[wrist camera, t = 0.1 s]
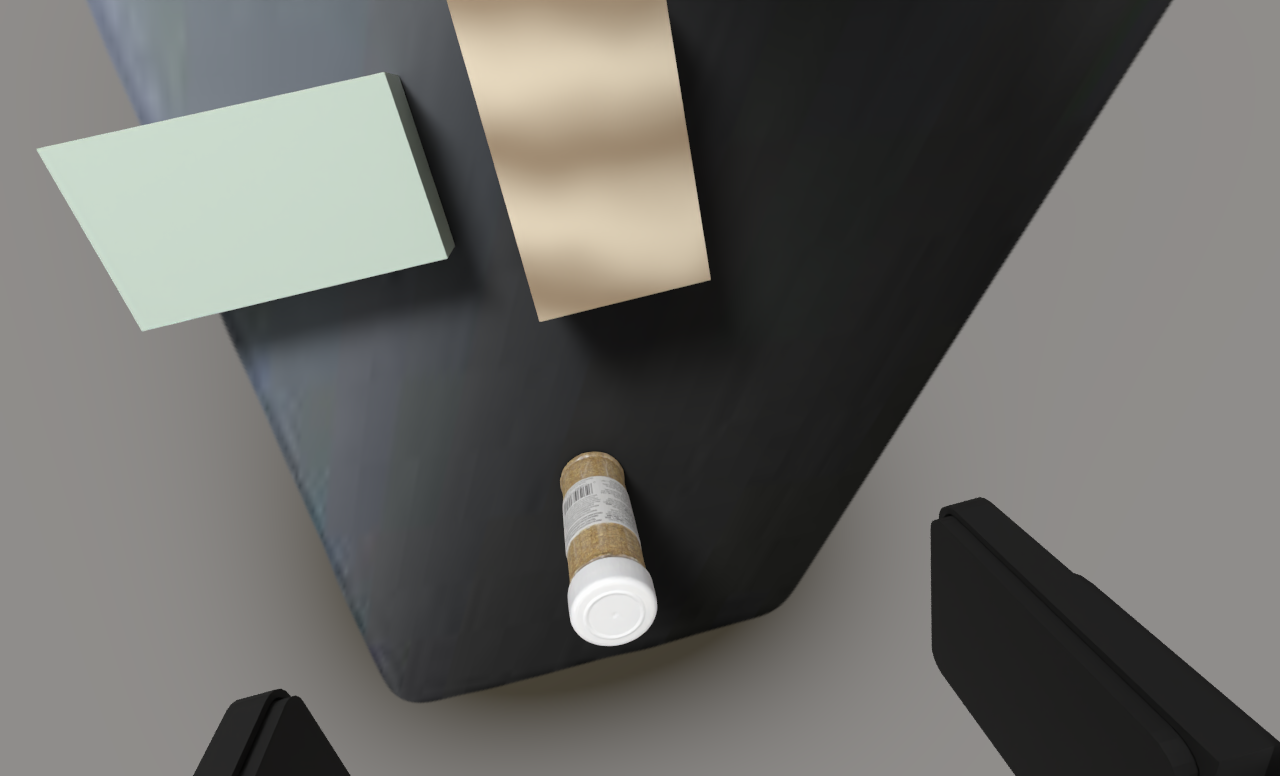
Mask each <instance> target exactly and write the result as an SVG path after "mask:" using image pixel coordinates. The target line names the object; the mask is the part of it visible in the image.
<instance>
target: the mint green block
mask: <svg viewBox="0 0 1280 776" xmlns="http://www.w3.org/2000/svg"><path fill="white" fill-rule="evenodd" d="M37 151H38V153H39V155H40V156H41V158H42V160H43V162H44V163H45V165H46V167H47V168H48V170H49V172H50V173H51V175H52V177H53V179H54V181H55V182H56V184H57V186H58V187H59V189H60V191H61V193H62V194H63V196H64V198H65V200H66V201H67V203H68V205H69V206H70V208H71V210H72V212H73V213H74V215H75V217H76V218H77V220H78V222H79V223H80V225H81V227H82V229H83V230H84V232H85V234H86V236H87V237H88V239H89V241H90V243H91V244H92V246H93V248H94V249H95V251H96V253H97V255H98V256H99V258H100V260H101V261H102V263H103V265H104V267H105V268H106V270H107V272H108V273H109V275H110V277H111V278H112V280H113V282H114V284H115V286H116V287H117V289H118V291H119V292H120V294H121V296H122V298H123V299H124V301H125V303H126V304H127V306H128V308H129V310H130V311H131V313H132V315H133V317H134V318H135V320H136V322H137V323H138V325H139V327H140V328H141V330H142V331H145V330H149V329H154V328H158V327H162V326H166V325H171V324H175V323H179V322H183V321H187V320H192V319H195V318H200V317H204V316H208V315H213V314H217V313H221V312H225V311H229V310H234V309H238V308H242V307H246V306H250V305H255V304H259V303H263V302H267V301H271V300H276V299H280V298H284V297H288V296H292V295H297V294H301V293H305V292H309V291H313V290H318V289H322V288H326V287H330V286H334V285H339V284H343V283H347V282H351V281H355V280H360V279H364V278H368V277H372V276H376V275H381V274H385V273H389V272H393V271H397V270H402V269H406V268H410V267H414V266H418V265H423V264H427V263H431V262H435V261H439V260H444V259H448V257H449V255H450V254H451V252H452V250H453V248H454V247H455V244H454V241H453V238H452V235H451V232H450V229H449V226H448V223H447V220H446V217H445V213H444V210H443V207H442V204H441V201H440V198H439V195H438V192H437V189H436V186H435V183H434V180H433V177H432V174H431V171H430V168H429V165H428V162H427V159H426V156H425V153H424V150H423V147H422V144H421V141H420V138H419V135H418V132H417V129H416V126H415V123H414V120H413V117H412V114H411V111H410V108H409V105H408V102H407V99H406V96H405V93H404V90H403V87H402V84H401V81H400V78H399V76H398V75H394V74H390V73H386V72H383V73H378V74H373V75H369V76H364V77H360V78H355V79H351V80H346V81H342V82H337V83H333V84H328V85H324V86H319V87H315V88H310V89H306V90H301V91H296V92H292V93H287V94H283V95H278V96H274V97H269V98H265V99H260V100H256V101H251V102H247V103H242V104H238V105H233V106H229V107H224V108H220V109H215V110H210V111H206V112H201V113H197V114H192V115H188V116H183V117H179V118H174V119H170V120H165V121H161V122H156V123H152V124H147V125H143V126H138V127H134V128H129V129H124V130H120V131H115V132H111V133H107V134H102V135H97V136H93V137H88V138H84V139H79V140H75V141H71V142H66V143H61V144H56V145H52V146H48V147H43V148H38V149H37Z"/></svg>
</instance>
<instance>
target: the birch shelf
mask: <svg viewBox="0 0 1280 776" xmlns="http://www.w3.org/2000/svg"><path fill="white" fill-rule="evenodd" d="M447 3H448V6H449V10H450V13H451V17H452V20H453V24H454V27H455V31H456V34H457V37H458V41H459V44H460V48H461V51H462V55H463V58H464V62H465V65H466V69H467V72H468V76H469V79H470V82H471V86H472V89H473V93H474V96H475V100H476V103H477V107H478V110H479V114H480V117H481V121H482V124H483V127H484V131H485V134H486V138H487V141H488V145H489V148H490V152H491V155H492V159H493V162H494V166H495V169H496V172H497V176H498V179H499V183H500V186H501V190H502V193H503V197H504V200H505V204H506V207H507V211H508V214H509V217H510V221H511V224H512V228H513V231H514V235H515V238H516V242H517V245H518V249H519V252H520V256H521V259H522V262H523V266H524V269H525V273H526V276H527V280H528V283H529V287H530V290H531V294H532V297H533V301H534V304H535V307H536V311H537V314H538V318H539V321H540V322H541V321H545V320H550V319H554V318H558V317H562V316H566V315H570V314H574V313H578V312H582V311H586V310H590V309H594V308H598V307H602V306H607V305H611V304H615V303H619V302H623V301H627V300H631V299H635V298H639V297H643V296H647V295H651V294H655V293H659V292H664V291H668V290H672V289H676V288H680V287H684V286H688V285H692V284H696V283H700V282H704V281H708V280H711V278H710V271H709V265H708V259H707V253H706V246H705V240H704V234H703V228H702V221H701V215H700V209H699V203H698V196H697V190H696V184H695V178H694V171H693V165H692V159H691V153H690V146H689V140H688V134H687V128H686V121H685V115H684V109H683V103H682V96H681V90H680V84H679V78H678V71H677V65H676V59H675V53H674V46H673V40H672V34H671V27H670V21H669V15H668V9H667V2H666V0H447Z"/></svg>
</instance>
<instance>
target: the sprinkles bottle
mask: <svg viewBox="0 0 1280 776" xmlns="http://www.w3.org/2000/svg"><path fill="white" fill-rule="evenodd" d="M560 486H561V490H562V493H563V520H564V535H565V547H566V556H567V559H568V565H569V576H570V586H569V589H568V605H569V614H570V620H571V624H572V626H573V628H574V630H575V631H576V632H577V634H578V635H579V636H580V637H582V638H583V639H585V640H586V641H588V642H590V643H593V644H596V645H602V646H616V645H621V644H625V643H628V642H630V641H632V640H634V639H636V638H638V637H639V636H641V635H642V634H643V633H644V632H646V631H647V630H648V628H649V627H650V626H651V624H652V623H653V621H654V619H655V616H656V612H657V599H656V594H655V590H654V586H653V582H652V578H651V576H650V574H649V572H648V571H647V570H646V568H645V563H644V559H643V556H642V551H641V543H640V539H639V535H638V531H637V527H636V523H635V519H634V515H633V511H632V507H631V503H630V499H629V495H628V493H627V491H626V487H625V483H624V471H623V469H622V467H621V466H620V464H619V462H618V461H617V460H616V459H615V458H613V457H612V456H610V455H608V454H607V453H602V452H587V453H582V454H580V455H578V456H576V457H574V458H573V459H572V460H570V461H569V462H568V463H567V465H566V466H565V467H564V469H563V471H562V474H561V478H560Z"/></svg>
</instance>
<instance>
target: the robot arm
mask: <svg viewBox="0 0 1280 776" xmlns="http://www.w3.org/2000/svg"><path fill="white" fill-rule="evenodd" d="M931 604H932V605H931V607H932V608H931V610H932V611H931V614H932V652H933V656H934V659H935V661H936V664H937V666H938V668H939V670H940V671H941V673H942V675H943V676H944V677H945V679H946V680H947V682H948V683H949V684H950V686H951V687H952V688H953V690H954V691H955V692H956V694H957V695H958V697H959V698H960V699H961V701H962V702H963V704H964V705H965V706H966V708H967V709H968V711H969V712H970V713H971V715H972V716H973V717H974V719H975V720H976V722H977V723H978V724H979V726H980V727H981V729H982V730H983V731H984V733H985V734H986V735H987V737H988V738H989V740H990V741H991V742H992V744H993V745H994V747H995V748H996V749H997V751H998V752H999V753H1000V755H1001V756H1002V758H1003V759H1004V760H1005V762H1006V763H1007V764H1008V766H1009V767H1010V769H1011V770H1012V771H1013V773H1014V774H1015V776H1280V742H1279V741H1278V740H1277V739H1275V738H1274V737H1273V736H1272V735H1271V734H1270V733H1268V732H1267V731H1266V730H1265V729H1264V728H1262V727H1261V726H1260V725H1259V724H1258V723H1257V722H1255V721H1254V720H1253V719H1252V718H1251V717H1249V716H1248V715H1247V714H1246V713H1245V712H1244V711H1242V710H1241V709H1240V708H1239V707H1238V706H1236V705H1235V704H1234V703H1233V702H1232V701H1231V700H1229V699H1228V698H1227V697H1226V696H1225V695H1224V694H1222V693H1221V692H1220V691H1219V690H1218V689H1216V688H1215V687H1214V686H1213V685H1212V684H1211V683H1209V682H1208V681H1207V680H1206V679H1205V678H1203V677H1202V676H1201V675H1200V674H1199V673H1198V672H1196V671H1195V670H1194V669H1193V668H1192V667H1191V666H1189V665H1188V664H1187V663H1186V662H1185V661H1183V660H1182V659H1181V658H1180V657H1179V656H1178V655H1176V654H1175V653H1174V652H1173V651H1171V650H1170V649H1169V648H1168V647H1167V646H1166V645H1165V644H1163V643H1162V642H1161V641H1160V640H1159V639H1157V638H1156V637H1155V636H1154V635H1153V634H1151V633H1150V632H1149V631H1148V630H1147V629H1146V628H1144V627H1143V626H1142V625H1141V624H1140V623H1139V622H1137V621H1136V620H1135V619H1134V618H1133V617H1131V616H1130V615H1129V614H1128V613H1127V612H1126V611H1124V610H1123V609H1122V608H1121V607H1120V606H1119V605H1117V604H1116V603H1115V602H1114V601H1113V600H1111V599H1110V598H1109V597H1108V596H1107V595H1106V594H1104V593H1103V592H1102V591H1100V589H1098V588H1097V587H1096V586H1095V585H1094V584H1093V583H1091V582H1090V581H1088V580H1087V579H1085V578H1084V577H1082V576H1081V575H1078V574H1075V573H1073V572H1071V571H1070V570H1069V569H1068V568H1067V567H1066V566H1065V565H1063V564H1062V563H1061V562H1060V561H1059V560H1058V559H1056V558H1055V557H1054V556H1053V555H1052V554H1051V553H1049V552H1048V551H1047V550H1046V549H1045V548H1043V547H1042V546H1041V545H1040V544H1039V543H1038V542H1037V541H1035V540H1034V539H1033V538H1032V537H1031V536H1030V535H1028V534H1027V533H1026V532H1025V531H1024V530H1023V529H1021V528H1020V527H1019V526H1018V525H1017V524H1016V523H1014V522H1013V521H1012V520H1011V519H1010V518H1009V517H1007V516H1006V515H1005V514H1004V513H1003V512H1002V511H1000V510H999V509H998V508H997V507H996V506H995V505H994V504H992V503H991V502H990V501H988V500H986V499H985V498H981V497H979V498H975V499H971V500H968V501H964V502H961V503H957V504H953V505H949V506H946V507H943V508H942V509H941V511H940V514H939V519H937V520H934V521H933V522H932V523H931ZM193 776H350V774H349V773H348V771H347V769H346V768H345V766H344V765H343V763H342V762H341V760H340V758H339V757H338V756H337V754H336V752H335V751H334V749H333V747H332V746H331V745H330V743H329V741H328V740H327V738H326V737H325V735H324V733H323V732H322V731H321V729H320V727H319V726H318V724H317V722H316V721H315V719H314V718H313V716H312V715H311V713H310V711H309V710H308V708H307V707H306V705H305V704H304V702H303V701H302V699H301V698H300V697H297V696H292V697H291V696H290V695H289V694H288V693H287V692H286V691H285V690H282V689H277V690H272V691H269V692H265V693H262V694H258V695H254V696H251V697H247V698H243V699H240V700H236V701H235V702H234V703H232V704H231V705H230V707H229V708H228V710H227V711H226V713H225V715H224V717H223V719H222V721H221V723H220V724H219V727H218V729H217V730H216V732H215V734H214V736H213V738H212V740H211V742H210V744H209V746H208V748H207V750H206V752H205V754H204V756H203V758H202V760H201V761H200V763H199V766H198V767H197V769H196V771H195V773H194V775H193Z"/></svg>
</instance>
